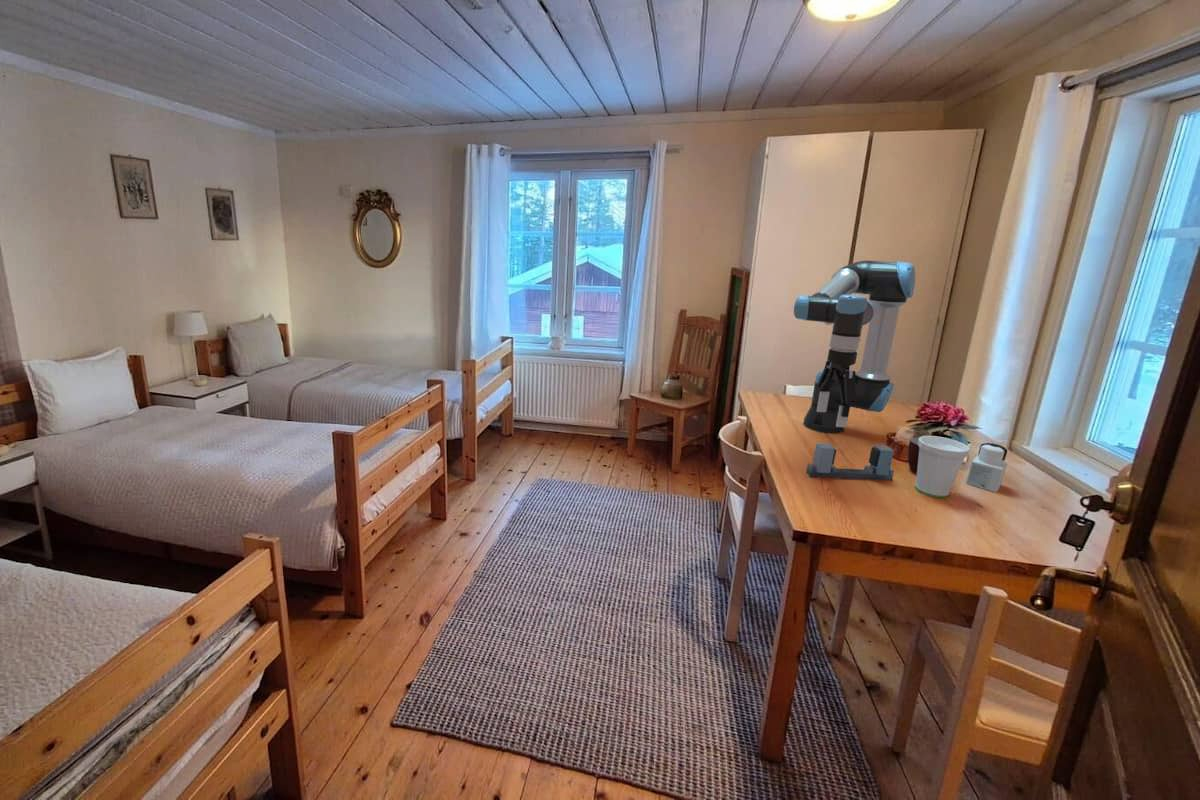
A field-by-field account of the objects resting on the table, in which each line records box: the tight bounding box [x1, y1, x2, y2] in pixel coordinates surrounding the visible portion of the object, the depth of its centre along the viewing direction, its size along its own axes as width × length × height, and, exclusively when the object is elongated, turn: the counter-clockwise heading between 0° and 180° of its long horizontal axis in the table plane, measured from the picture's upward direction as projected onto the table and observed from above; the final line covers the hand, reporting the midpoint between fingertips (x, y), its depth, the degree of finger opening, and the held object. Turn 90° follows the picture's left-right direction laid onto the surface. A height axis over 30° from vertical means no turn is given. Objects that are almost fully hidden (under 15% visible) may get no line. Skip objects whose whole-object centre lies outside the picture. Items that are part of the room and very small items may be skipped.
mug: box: [907, 437, 920, 474], centre depth 161 cm, size 10×8×10 cm
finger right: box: [811, 442, 837, 473], centre depth 155 cm, size 4×5×8 cm
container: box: [966, 442, 1008, 493], centre depth 154 cm, size 8×8×13 cm
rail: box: [805, 444, 895, 481], centre depth 156 cm, size 4×26×10 cm, turn 90°
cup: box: [914, 435, 970, 499], centre depth 148 cm, size 12×12×15 cm
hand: (830, 419), depth 152 cm, fingers open, 13 cm apart
